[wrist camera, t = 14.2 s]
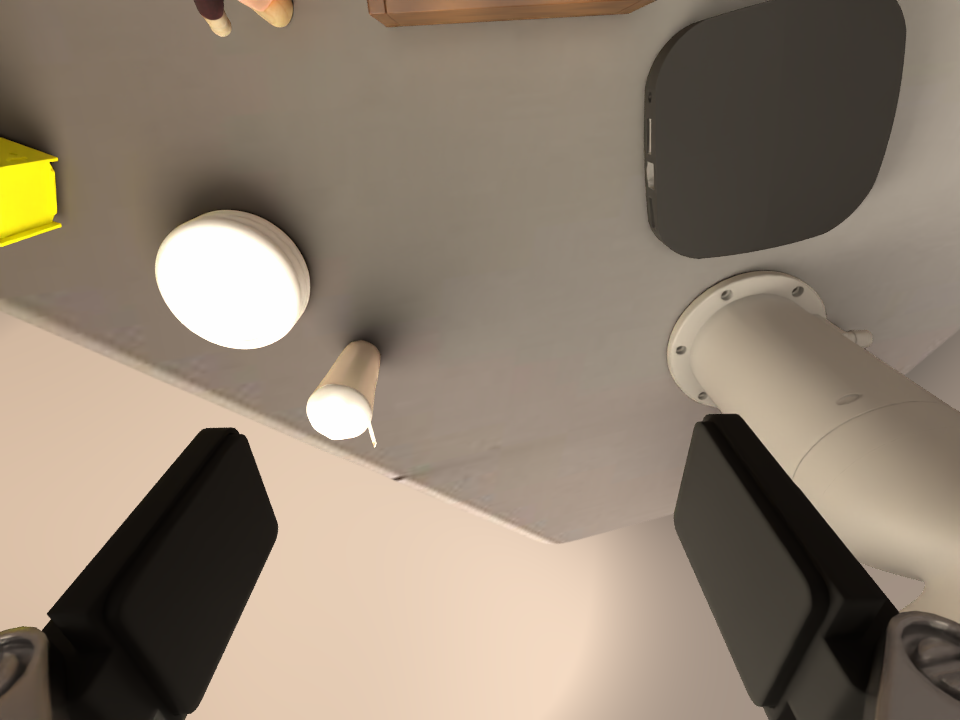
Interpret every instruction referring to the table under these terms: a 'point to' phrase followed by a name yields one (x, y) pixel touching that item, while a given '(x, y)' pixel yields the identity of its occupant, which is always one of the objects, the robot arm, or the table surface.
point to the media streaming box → (769, 122)
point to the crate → (491, 10)
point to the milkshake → (347, 393)
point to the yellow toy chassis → (25, 192)
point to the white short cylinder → (233, 279)
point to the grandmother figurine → (268, 3)
